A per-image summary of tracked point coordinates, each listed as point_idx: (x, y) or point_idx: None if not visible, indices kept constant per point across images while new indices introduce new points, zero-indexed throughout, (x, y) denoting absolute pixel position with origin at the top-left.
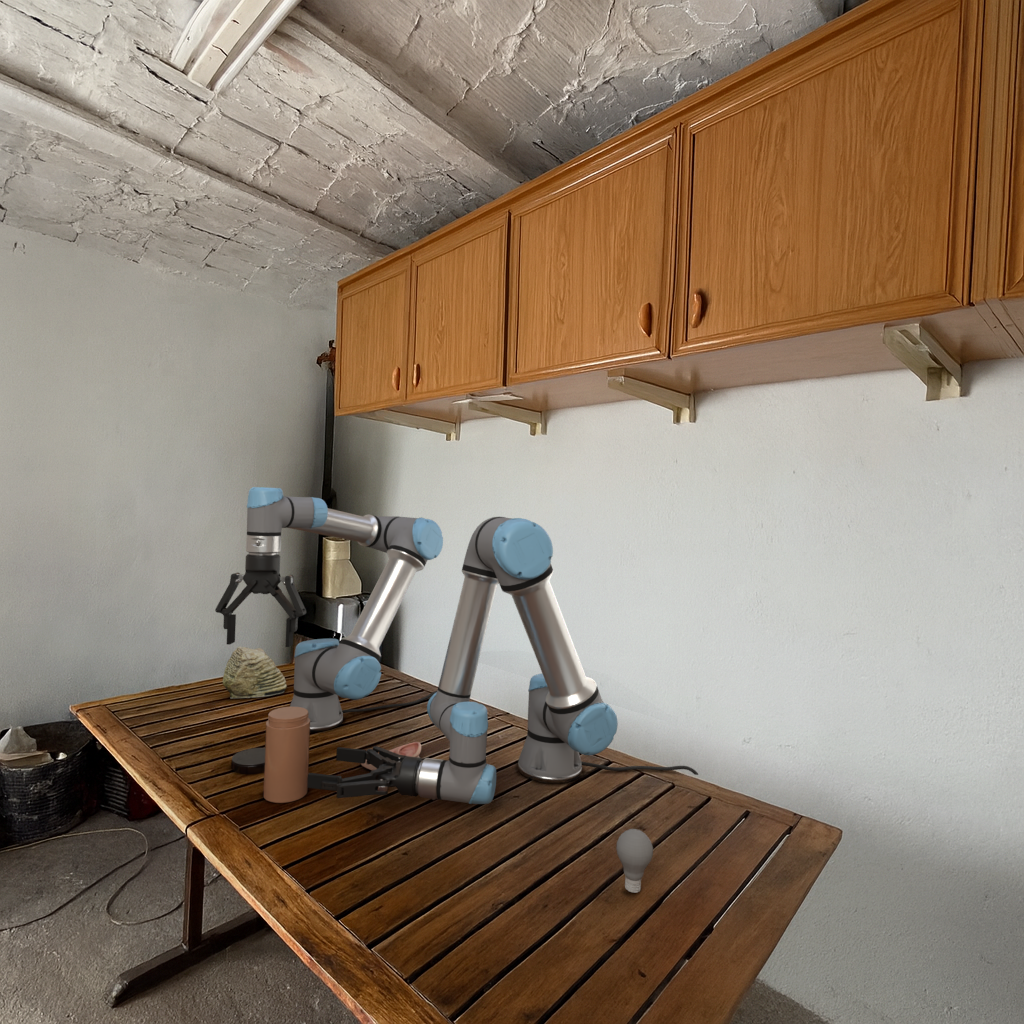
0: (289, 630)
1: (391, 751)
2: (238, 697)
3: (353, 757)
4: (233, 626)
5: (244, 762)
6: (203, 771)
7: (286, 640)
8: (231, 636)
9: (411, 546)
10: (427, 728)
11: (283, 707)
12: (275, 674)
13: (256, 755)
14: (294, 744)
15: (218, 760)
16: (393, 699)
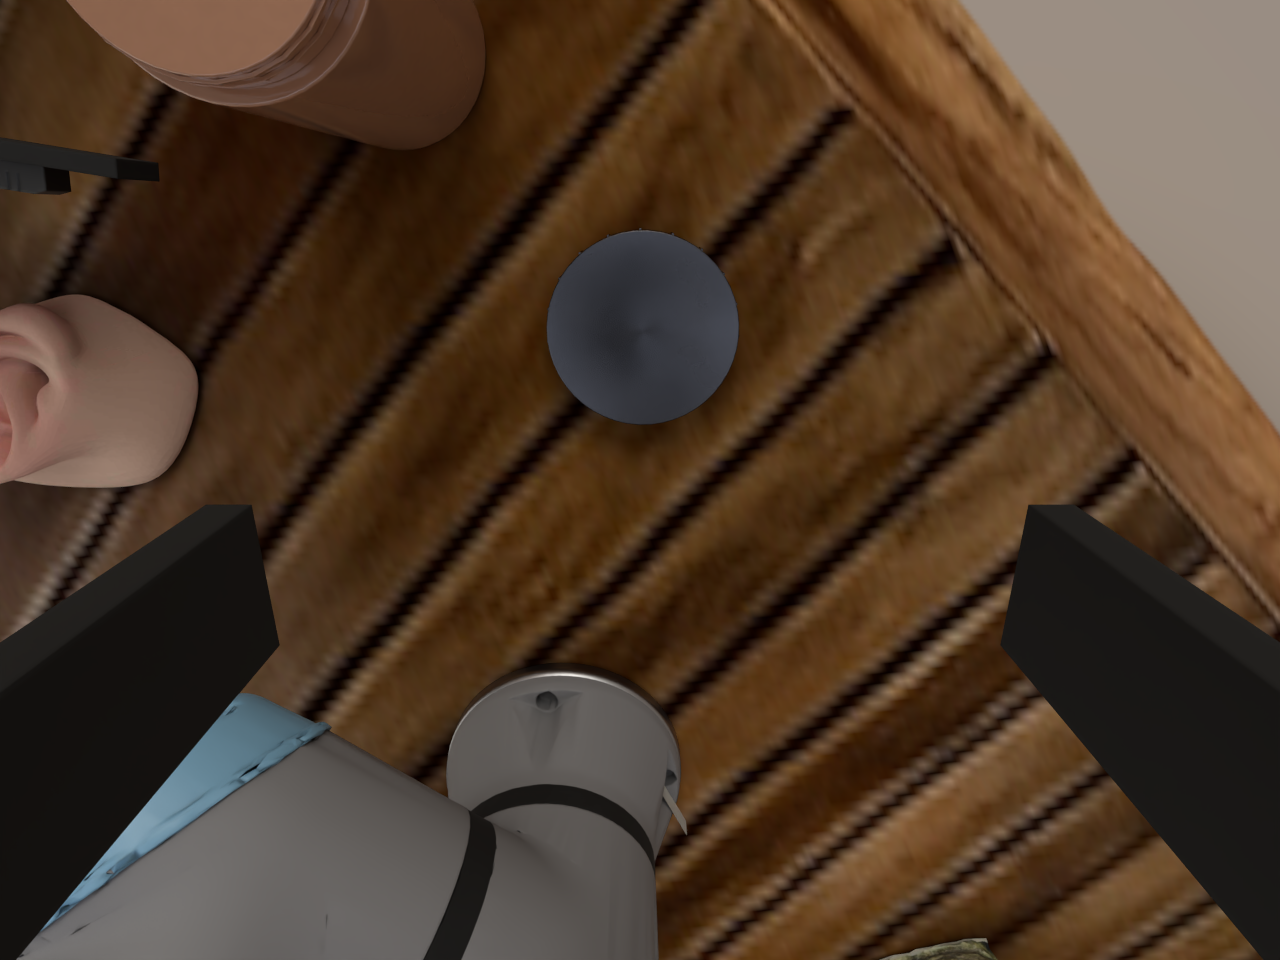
0: (23, 638)
1: (44, 413)
2: (954, 944)
3: (44, 145)
4: (1163, 747)
5: (660, 255)
6: (832, 240)
7: (185, 542)
8: (1078, 594)
9: None
10: None
11: (280, 40)
12: None
13: (638, 339)
14: None
15: (811, 357)
16: None
